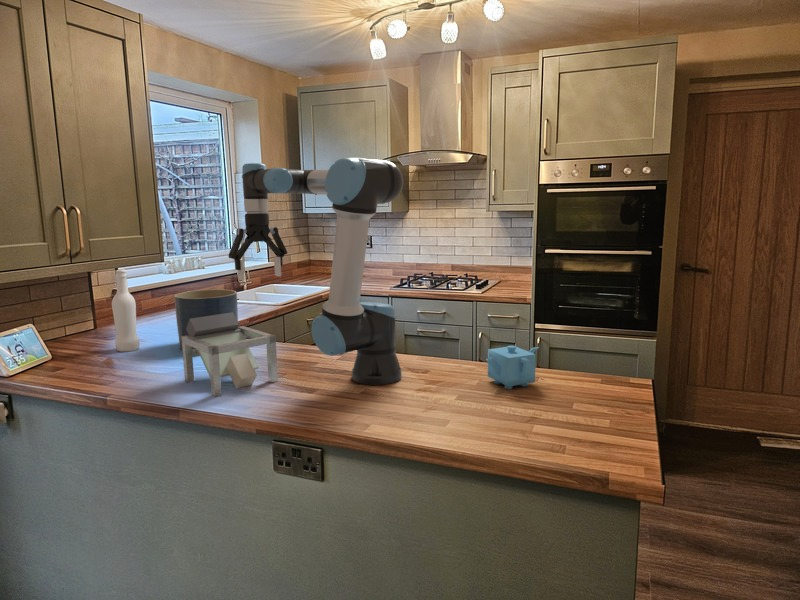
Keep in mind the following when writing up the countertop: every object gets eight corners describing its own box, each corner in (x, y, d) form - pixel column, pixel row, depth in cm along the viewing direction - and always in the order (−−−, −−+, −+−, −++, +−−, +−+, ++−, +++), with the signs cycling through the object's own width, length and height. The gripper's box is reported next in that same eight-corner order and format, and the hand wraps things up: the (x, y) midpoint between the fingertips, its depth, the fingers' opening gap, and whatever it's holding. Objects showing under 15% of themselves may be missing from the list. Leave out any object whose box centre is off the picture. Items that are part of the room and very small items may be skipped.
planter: (238, 337, 225) (235, 288, 222) (241, 350, 204) (237, 296, 201) (180, 341, 218) (176, 291, 215) (176, 355, 198) (172, 300, 194)
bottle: (110, 351, 205) (102, 270, 200) (128, 346, 212) (121, 268, 207) (127, 353, 202) (119, 271, 197) (144, 347, 209) (137, 268, 204)
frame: (277, 381, 167) (275, 335, 165) (214, 397, 154) (211, 348, 151) (245, 367, 182) (242, 325, 179) (185, 381, 168) (181, 336, 166)
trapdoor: (256, 372, 171) (261, 363, 168) (209, 383, 161) (213, 373, 158) (230, 321, 180) (234, 312, 177) (184, 329, 170) (187, 319, 167)
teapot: (472, 380, 166) (472, 343, 164) (522, 372, 173) (523, 337, 171) (502, 396, 151) (503, 356, 149) (555, 387, 158) (557, 349, 156)
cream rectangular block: (245, 353, 164) (257, 375, 161) (241, 363, 167) (252, 384, 164) (230, 356, 161) (241, 378, 158) (225, 366, 164) (236, 388, 161)
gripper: (283, 212, 190) (286, 273, 194) (214, 213, 173) (219, 280, 177) (295, 212, 185) (298, 275, 188) (226, 213, 168) (230, 283, 171)
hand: (260, 278), depth 183 cm, fingers open, 13 cm apart
